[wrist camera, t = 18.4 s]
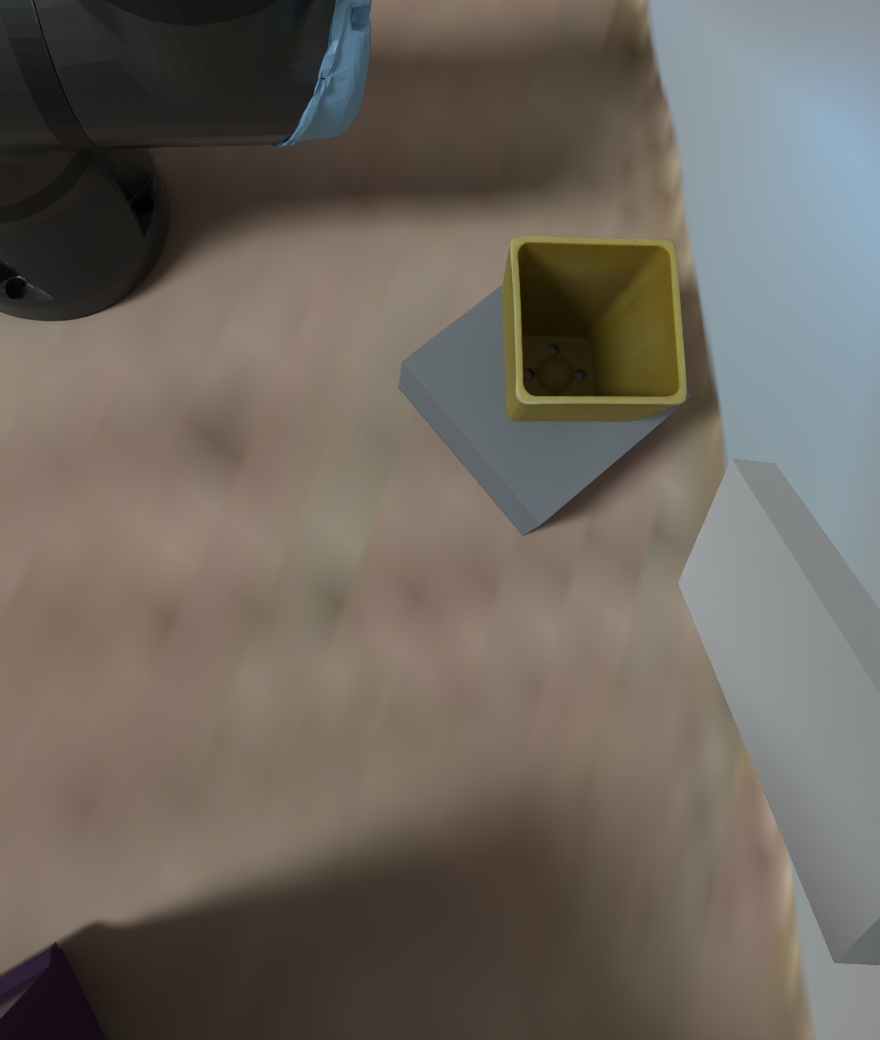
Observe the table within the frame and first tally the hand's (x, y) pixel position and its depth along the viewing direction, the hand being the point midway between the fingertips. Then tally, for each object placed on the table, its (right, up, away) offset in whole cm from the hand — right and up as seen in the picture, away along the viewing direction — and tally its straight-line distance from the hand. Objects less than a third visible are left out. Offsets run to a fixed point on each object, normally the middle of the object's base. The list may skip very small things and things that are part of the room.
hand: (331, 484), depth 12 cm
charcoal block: (+8, +7, +38) cm, 40 cm away
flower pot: (+9, +8, +33) cm, 36 cm away
